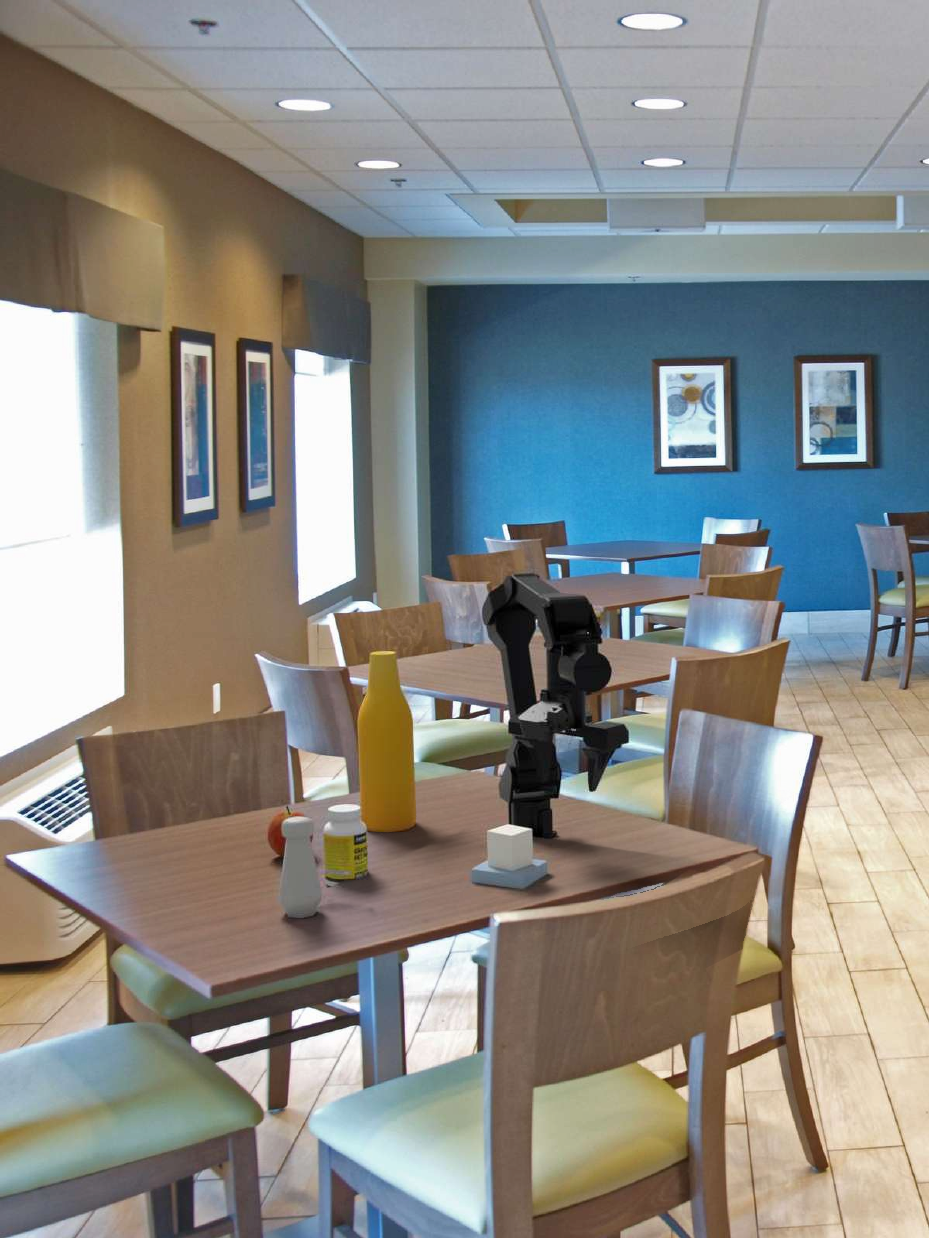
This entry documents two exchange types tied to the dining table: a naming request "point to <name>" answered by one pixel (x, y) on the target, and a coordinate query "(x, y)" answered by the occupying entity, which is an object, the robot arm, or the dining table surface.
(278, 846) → the fruit
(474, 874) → the slate slab
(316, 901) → the salt shaker
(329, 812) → the pill bottle
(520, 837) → the cream block
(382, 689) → the beer bottle
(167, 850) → the dining table surface
